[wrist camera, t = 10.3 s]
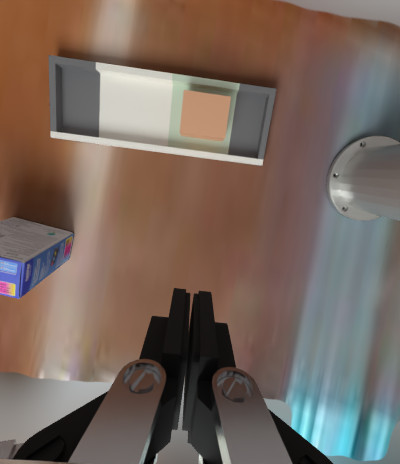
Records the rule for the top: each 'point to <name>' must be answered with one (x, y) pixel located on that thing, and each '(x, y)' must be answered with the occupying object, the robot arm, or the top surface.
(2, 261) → the ink cartridge box
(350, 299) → the top surface
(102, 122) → the track
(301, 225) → the top surface
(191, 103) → the terracotta block
